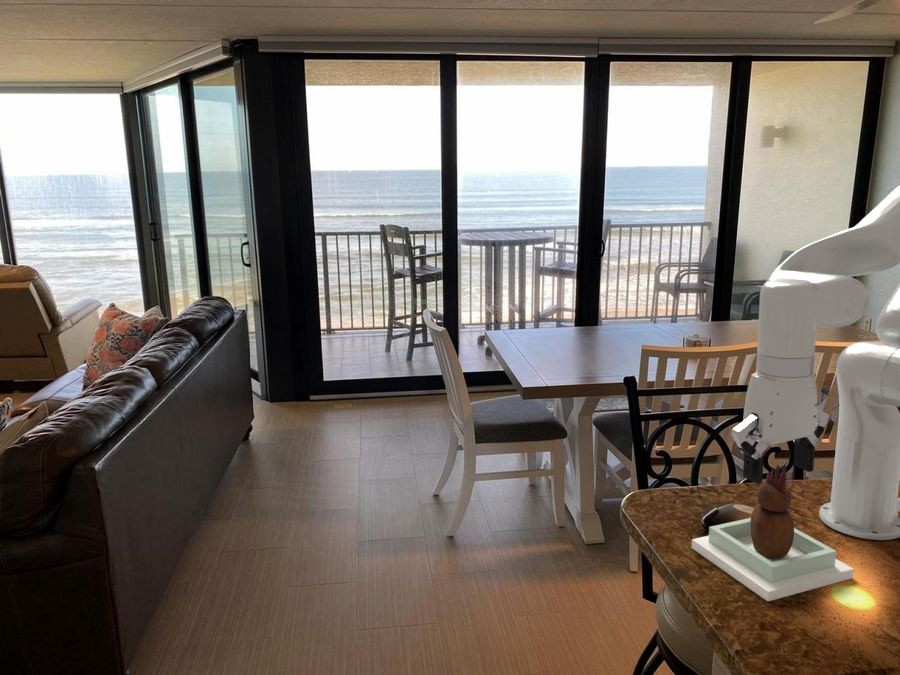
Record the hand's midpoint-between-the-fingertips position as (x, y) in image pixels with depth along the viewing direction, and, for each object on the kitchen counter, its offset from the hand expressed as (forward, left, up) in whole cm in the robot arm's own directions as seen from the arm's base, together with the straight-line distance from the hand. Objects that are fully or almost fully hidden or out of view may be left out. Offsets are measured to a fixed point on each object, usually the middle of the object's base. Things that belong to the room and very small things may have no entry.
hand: (778, 474), depth 102 cm
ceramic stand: (+1, 0, -14) cm, 14 cm away
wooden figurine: (0, 0, -13) cm, 13 cm away
